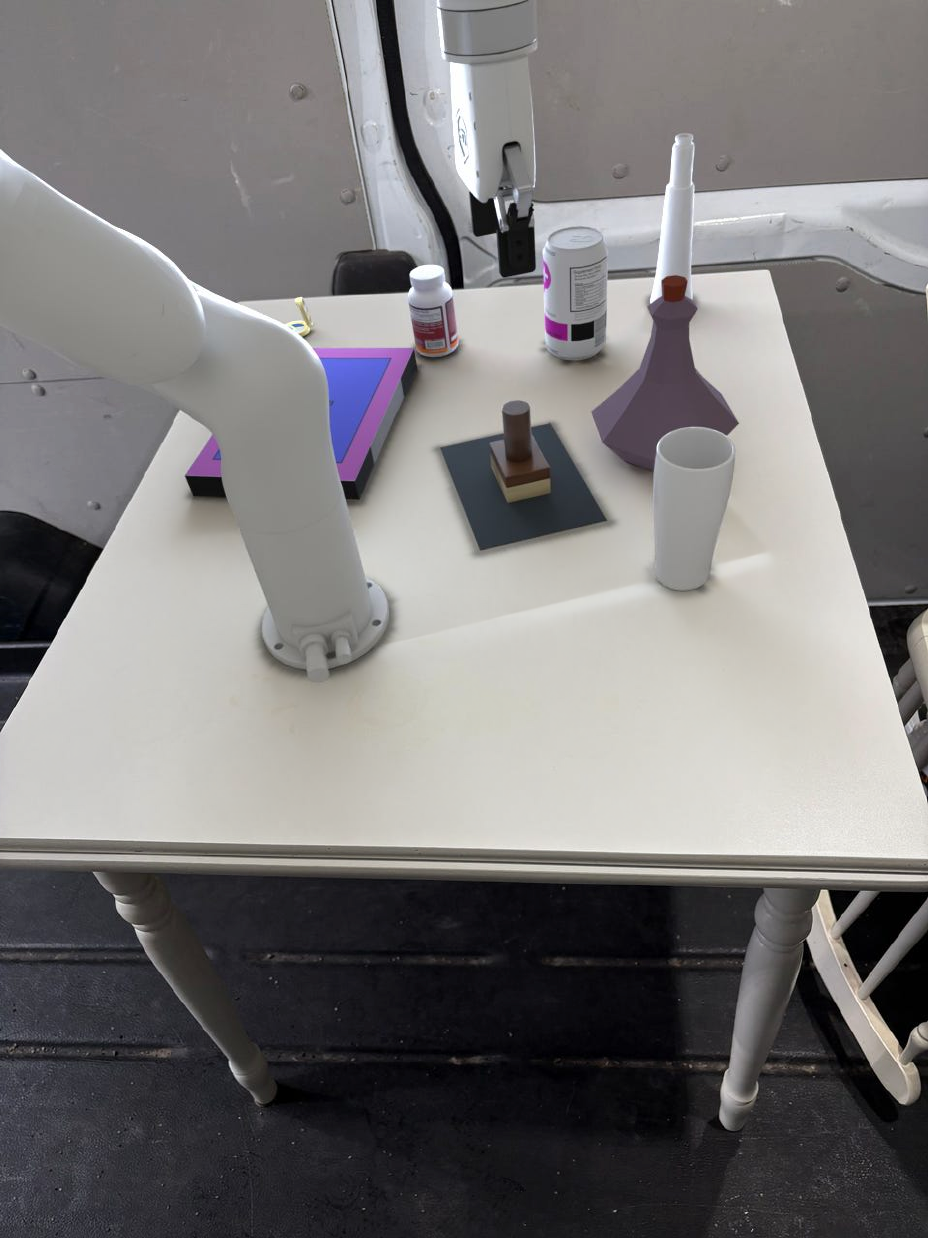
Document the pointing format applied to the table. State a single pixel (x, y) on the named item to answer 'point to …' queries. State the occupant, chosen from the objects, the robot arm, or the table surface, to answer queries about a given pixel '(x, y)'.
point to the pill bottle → (432, 312)
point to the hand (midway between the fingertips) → (503, 252)
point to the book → (340, 415)
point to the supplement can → (575, 292)
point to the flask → (662, 387)
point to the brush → (519, 456)
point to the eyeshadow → (301, 326)
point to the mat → (527, 516)
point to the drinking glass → (689, 503)
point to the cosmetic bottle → (677, 218)
